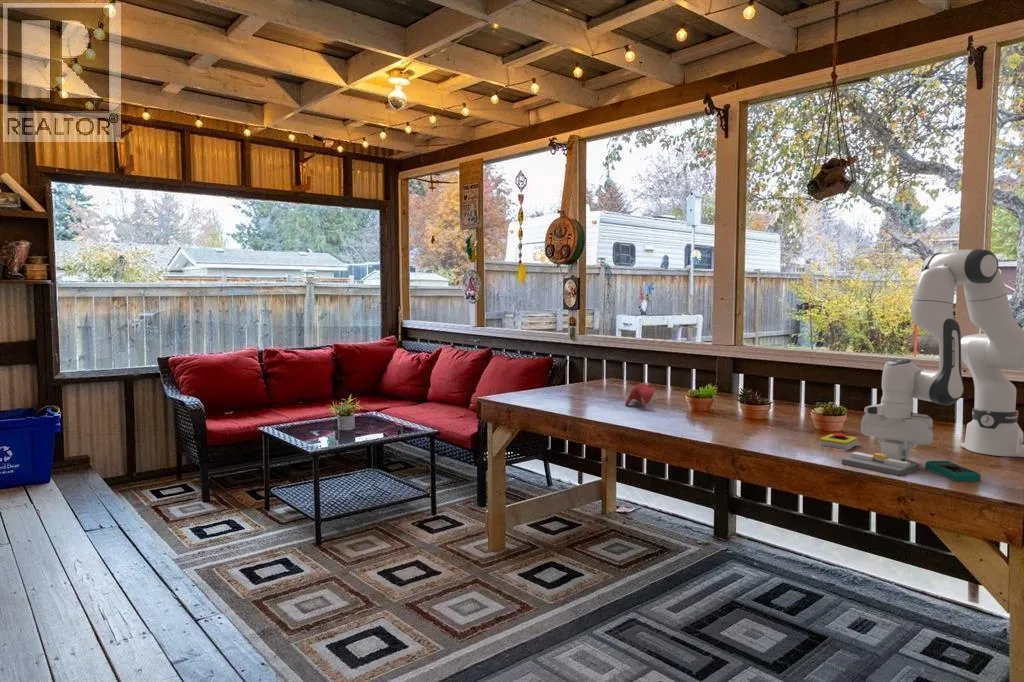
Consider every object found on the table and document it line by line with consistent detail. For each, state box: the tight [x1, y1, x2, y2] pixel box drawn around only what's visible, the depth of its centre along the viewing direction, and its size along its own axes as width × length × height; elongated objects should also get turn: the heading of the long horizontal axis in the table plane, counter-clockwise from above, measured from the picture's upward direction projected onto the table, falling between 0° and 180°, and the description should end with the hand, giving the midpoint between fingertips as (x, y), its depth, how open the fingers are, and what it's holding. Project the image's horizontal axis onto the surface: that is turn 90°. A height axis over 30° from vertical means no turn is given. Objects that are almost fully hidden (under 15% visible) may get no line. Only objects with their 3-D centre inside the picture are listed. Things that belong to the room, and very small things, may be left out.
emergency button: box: [818, 432, 860, 451], centre depth 229 cm, size 9×4×15 cm
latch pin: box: [872, 452, 887, 460], centre depth 202 cm, size 2×3×1 cm
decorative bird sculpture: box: [624, 382, 656, 406], centre depth 311 cm, size 28×9×15 cm
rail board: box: [841, 451, 920, 477], centre depth 202 cm, size 12×17×3 cm
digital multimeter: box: [924, 460, 982, 482], centre depth 193 cm, size 7×15×3 cm, turn 0°
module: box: [880, 439, 910, 462], centre depth 209 cm, size 8×5×6 cm, turn 126°
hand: (894, 453), depth 209 cm, fingers closed on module, 5 cm apart
